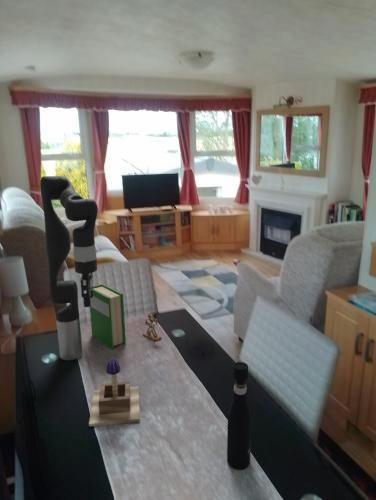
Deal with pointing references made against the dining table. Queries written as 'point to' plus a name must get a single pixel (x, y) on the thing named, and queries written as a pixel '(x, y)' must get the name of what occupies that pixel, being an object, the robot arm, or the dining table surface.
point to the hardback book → (107, 315)
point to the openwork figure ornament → (148, 333)
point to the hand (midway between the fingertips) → (88, 302)
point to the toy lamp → (113, 374)
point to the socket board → (115, 405)
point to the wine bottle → (239, 421)
